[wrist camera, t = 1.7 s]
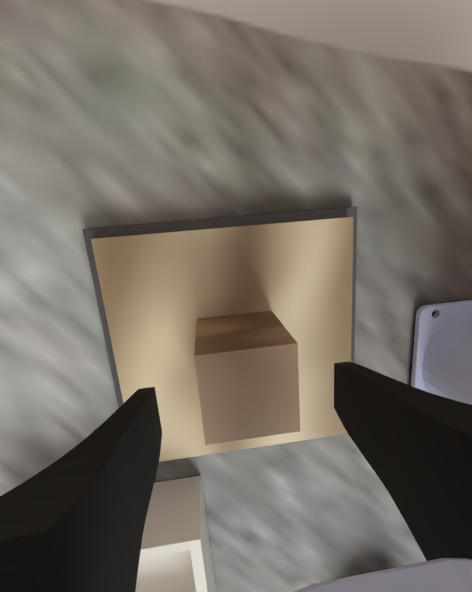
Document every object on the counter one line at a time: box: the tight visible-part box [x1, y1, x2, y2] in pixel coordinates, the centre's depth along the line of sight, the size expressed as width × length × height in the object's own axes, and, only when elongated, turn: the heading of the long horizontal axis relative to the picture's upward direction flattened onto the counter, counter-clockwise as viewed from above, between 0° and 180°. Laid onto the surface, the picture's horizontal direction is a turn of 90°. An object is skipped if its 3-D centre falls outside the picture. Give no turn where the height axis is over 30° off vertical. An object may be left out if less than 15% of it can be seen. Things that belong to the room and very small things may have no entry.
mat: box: [83, 207, 357, 408], centre depth 17 cm, size 14×14×1 cm
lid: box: [91, 217, 353, 462], centre depth 14 cm, size 13×13×5 cm
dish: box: [135, 476, 216, 592], centre depth 18 cm, size 10×10×4 cm
